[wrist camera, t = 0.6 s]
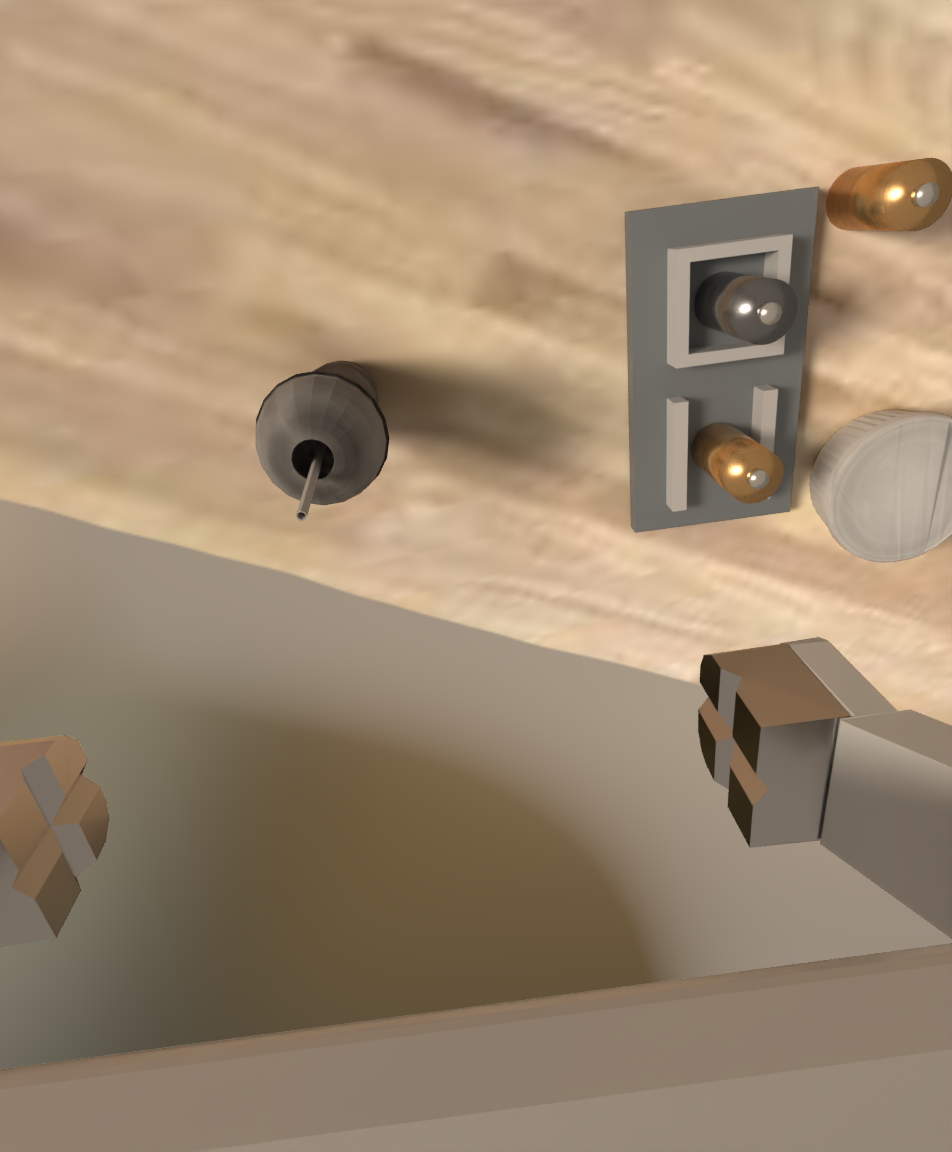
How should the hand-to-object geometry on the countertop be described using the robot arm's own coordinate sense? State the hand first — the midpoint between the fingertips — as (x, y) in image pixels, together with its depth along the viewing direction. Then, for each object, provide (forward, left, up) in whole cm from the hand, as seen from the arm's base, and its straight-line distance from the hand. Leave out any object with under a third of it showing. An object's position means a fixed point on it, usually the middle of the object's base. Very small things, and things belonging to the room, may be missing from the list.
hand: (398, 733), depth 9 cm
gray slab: (+6, +20, -43) cm, 48 cm away
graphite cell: (+1, +20, -42) cm, 46 cm away
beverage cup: (+4, -6, -43) cm, 43 cm away
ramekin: (+15, +33, -43) cm, 56 cm away
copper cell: (-4, +29, -43) cm, 52 cm away
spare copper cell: (+11, +20, -42) cm, 47 cm away
